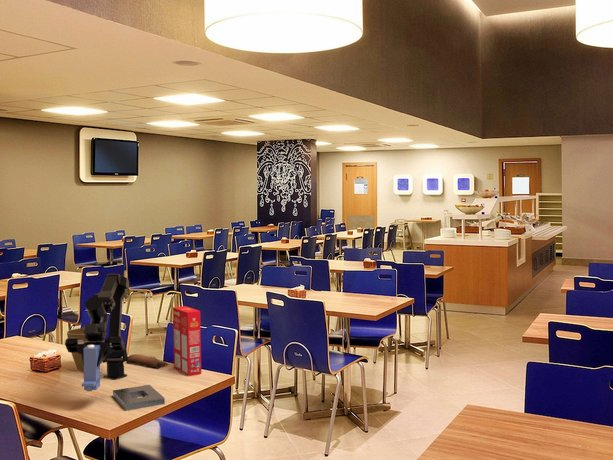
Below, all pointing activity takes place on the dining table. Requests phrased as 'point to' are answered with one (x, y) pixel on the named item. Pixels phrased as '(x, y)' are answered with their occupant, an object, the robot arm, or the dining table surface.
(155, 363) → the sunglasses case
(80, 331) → the plant pot
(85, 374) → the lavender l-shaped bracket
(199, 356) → the food packaging
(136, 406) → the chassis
